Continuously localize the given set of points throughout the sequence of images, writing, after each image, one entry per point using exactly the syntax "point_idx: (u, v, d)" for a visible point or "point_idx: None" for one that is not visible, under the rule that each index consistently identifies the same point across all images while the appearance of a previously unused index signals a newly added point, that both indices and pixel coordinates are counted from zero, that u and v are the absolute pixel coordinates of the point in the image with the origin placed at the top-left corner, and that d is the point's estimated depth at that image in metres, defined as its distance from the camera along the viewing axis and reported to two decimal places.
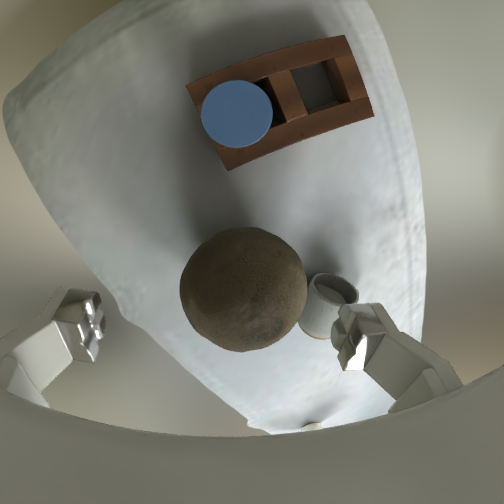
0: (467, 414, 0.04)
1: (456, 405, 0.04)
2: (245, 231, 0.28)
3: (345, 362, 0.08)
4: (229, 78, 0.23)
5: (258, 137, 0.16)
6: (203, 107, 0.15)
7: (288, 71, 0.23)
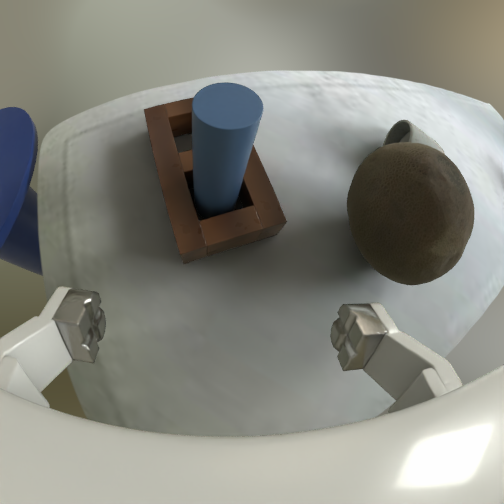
0: (467, 414, 0.04)
1: (456, 405, 0.04)
2: (353, 199, 0.24)
3: (345, 361, 0.08)
4: (180, 207, 0.24)
5: (253, 92, 0.16)
6: (216, 125, 0.14)
7: (180, 153, 0.26)
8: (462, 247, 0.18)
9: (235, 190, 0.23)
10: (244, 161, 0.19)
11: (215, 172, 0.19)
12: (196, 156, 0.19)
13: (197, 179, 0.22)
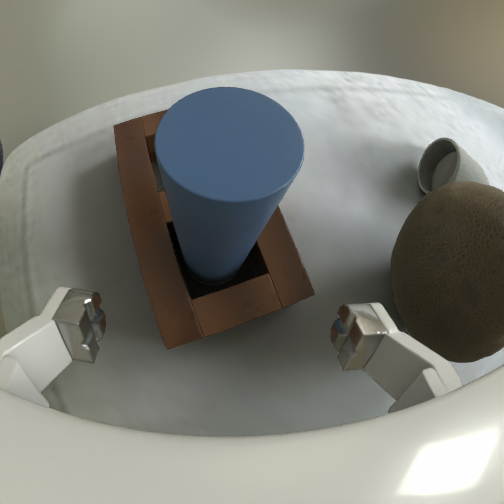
0: (467, 414, 0.04)
1: (456, 405, 0.04)
2: (407, 265, 0.16)
3: (345, 362, 0.08)
4: (163, 280, 0.17)
5: (281, 109, 0.08)
6: (206, 192, 0.07)
7: (160, 193, 0.18)
8: None
9: (242, 259, 0.16)
10: (260, 232, 0.12)
11: (210, 251, 0.12)
12: (176, 225, 0.11)
13: (183, 248, 0.14)
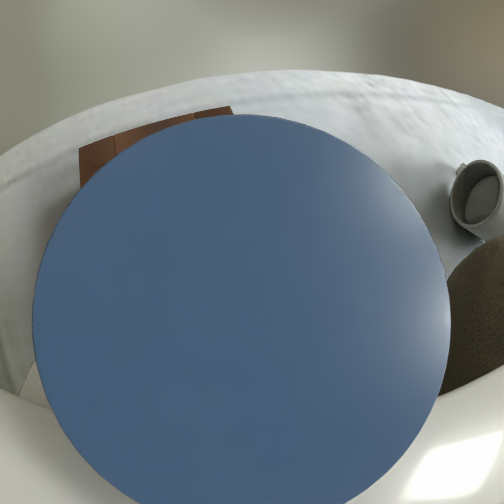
0: (467, 414, 0.04)
1: (456, 405, 0.04)
2: (456, 345, 0.11)
3: None
4: None
5: (405, 202, 0.03)
6: None
7: None
8: None
9: None
10: None
11: None
12: None
13: None
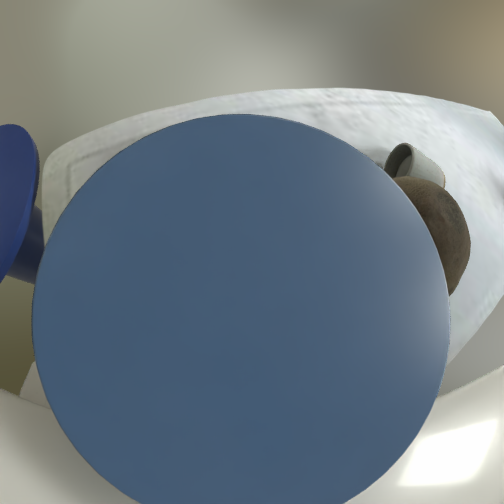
0: (467, 414, 0.04)
1: (456, 405, 0.04)
2: None
3: None
4: None
5: (404, 201, 0.03)
6: None
7: None
8: (456, 283, 0.20)
9: None
10: None
11: None
12: None
13: None
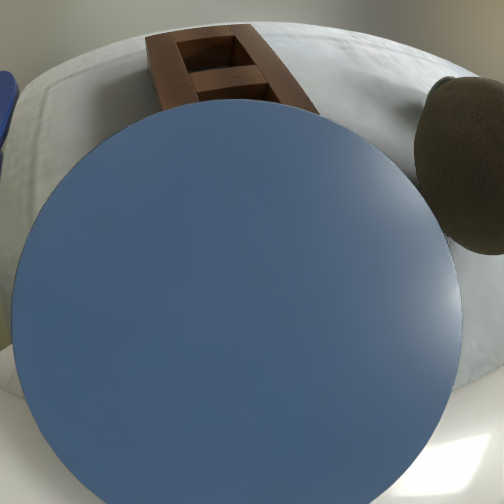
0: (467, 414, 0.04)
1: (456, 405, 0.04)
2: (432, 135, 0.14)
3: None
4: None
5: (412, 192, 0.03)
6: None
7: (191, 74, 0.16)
8: None
9: None
10: None
11: None
12: None
13: None
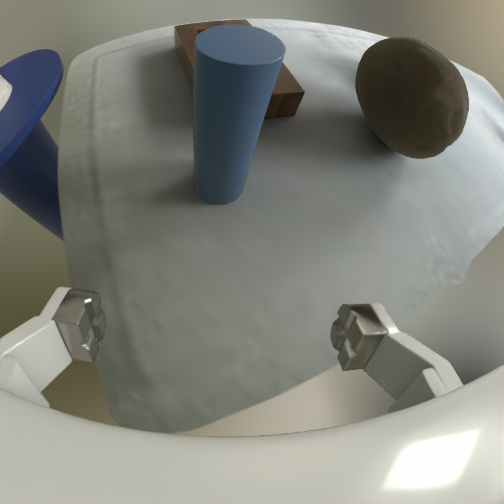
0: (467, 414, 0.04)
1: (456, 405, 0.04)
2: (361, 75, 0.23)
3: (345, 361, 0.08)
4: None
5: (271, 34, 0.11)
6: (226, 60, 0.10)
7: None
8: (462, 104, 0.17)
9: (245, 161, 0.19)
10: (259, 119, 0.14)
11: (221, 132, 0.14)
12: (198, 112, 0.14)
13: (198, 146, 0.17)
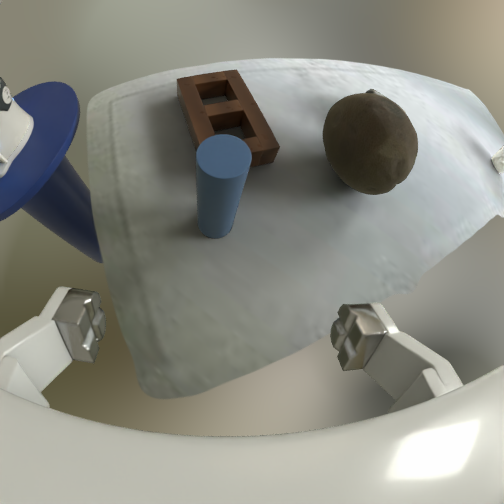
0: (467, 414, 0.04)
1: (456, 405, 0.04)
2: (325, 130, 0.33)
3: (345, 362, 0.08)
4: (206, 136, 0.34)
5: (244, 143, 0.21)
6: (215, 175, 0.20)
7: (205, 105, 0.35)
8: (406, 154, 0.28)
9: (231, 215, 0.29)
10: (238, 196, 0.25)
11: (215, 205, 0.25)
12: (200, 193, 0.24)
13: (200, 208, 0.27)
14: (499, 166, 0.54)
